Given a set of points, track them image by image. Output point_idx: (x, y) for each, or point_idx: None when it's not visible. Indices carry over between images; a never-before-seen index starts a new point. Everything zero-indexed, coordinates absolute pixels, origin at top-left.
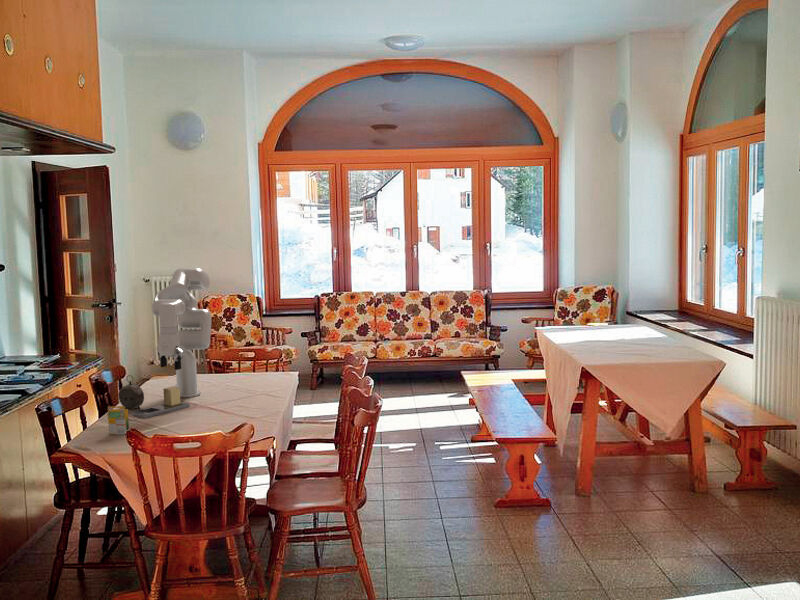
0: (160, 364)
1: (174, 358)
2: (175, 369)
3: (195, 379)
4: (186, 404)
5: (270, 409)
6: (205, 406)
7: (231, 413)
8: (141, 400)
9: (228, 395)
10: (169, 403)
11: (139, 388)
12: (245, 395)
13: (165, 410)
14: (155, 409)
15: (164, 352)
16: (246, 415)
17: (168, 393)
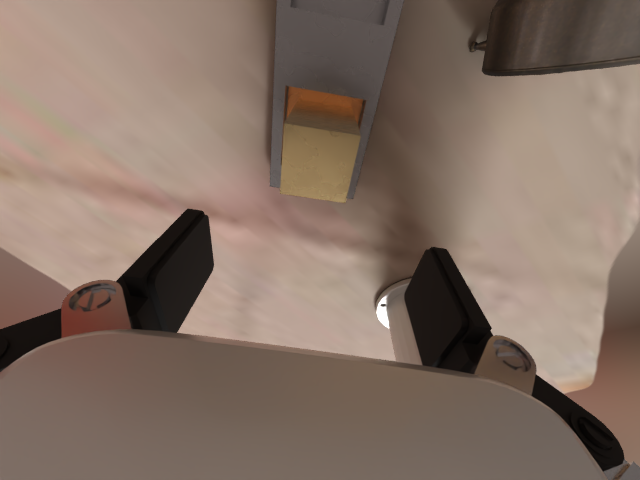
0: (455, 265)
1: (118, 320)
2: (187, 209)
3: (394, 351)
4: (270, 170)
5: (60, 263)
6: (254, 224)
7: (87, 184)
8: (487, 40)
9: (298, 326)
10: (310, 107)
11: (555, 50)
12: (259, 335)
13: (276, 24)
14: (348, 19)
15: (322, 448)
16: (19, 182)
17: (311, 120)
